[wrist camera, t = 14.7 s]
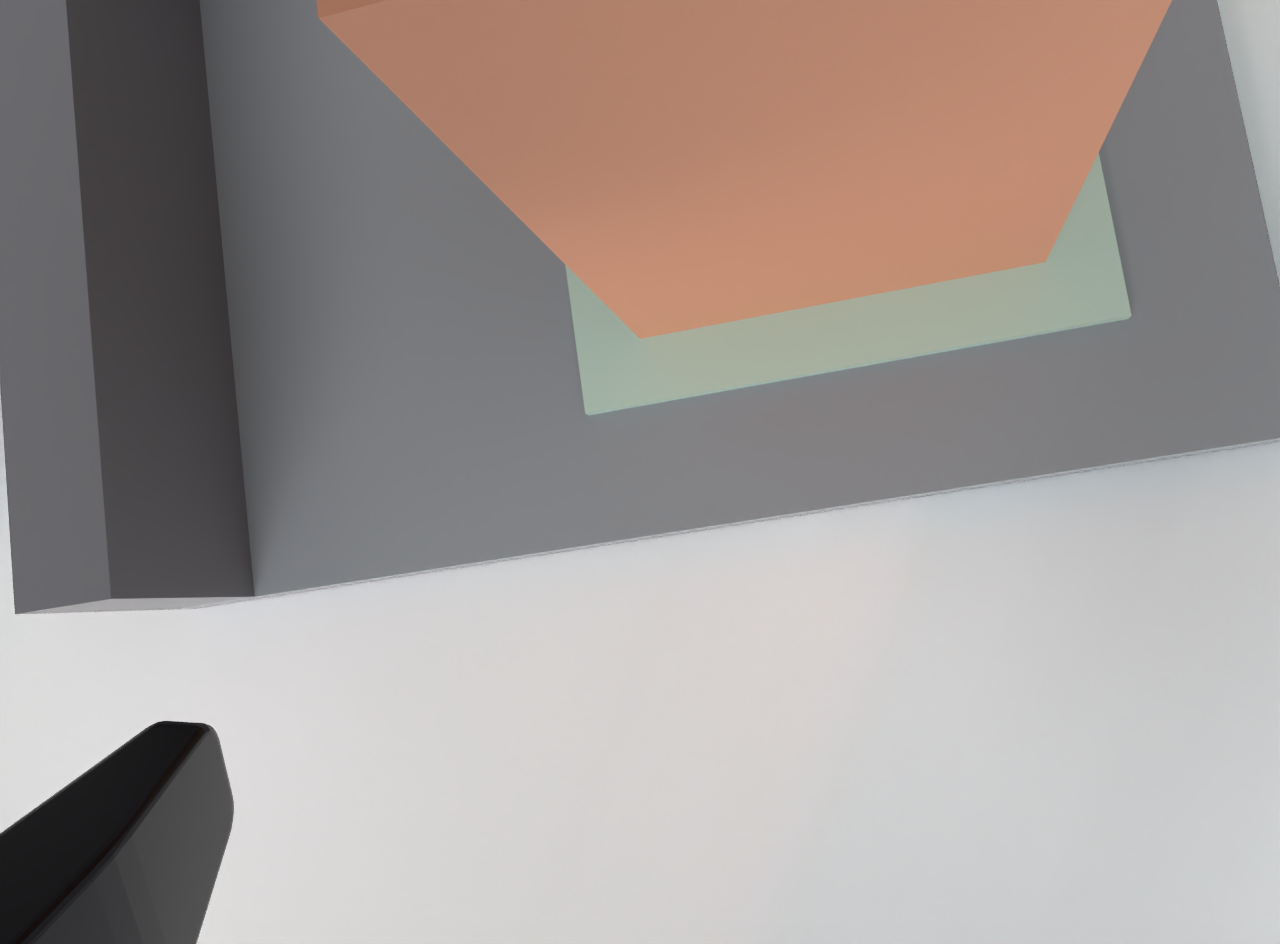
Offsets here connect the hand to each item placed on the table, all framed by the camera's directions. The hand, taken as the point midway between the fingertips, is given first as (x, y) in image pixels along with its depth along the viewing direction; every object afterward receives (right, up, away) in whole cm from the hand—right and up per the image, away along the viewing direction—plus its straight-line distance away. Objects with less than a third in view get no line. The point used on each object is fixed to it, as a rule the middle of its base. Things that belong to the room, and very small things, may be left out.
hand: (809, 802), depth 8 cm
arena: (-1, +9, +10) cm, 13 cm away
